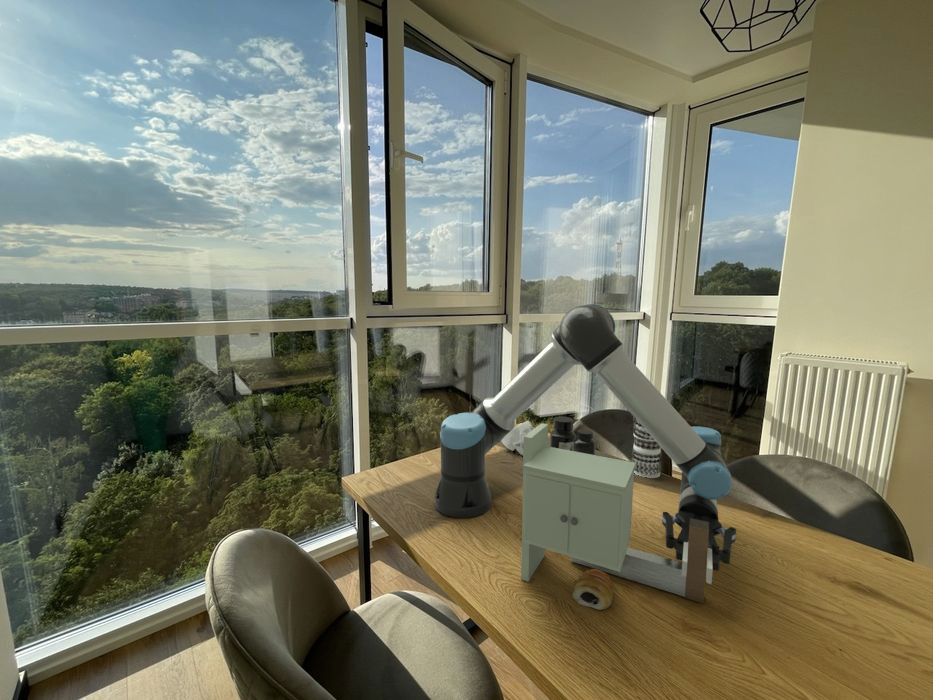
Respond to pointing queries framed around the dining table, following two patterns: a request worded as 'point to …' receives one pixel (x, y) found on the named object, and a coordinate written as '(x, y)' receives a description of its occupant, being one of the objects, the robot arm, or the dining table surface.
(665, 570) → the l-shaped try square
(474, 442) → the robot arm
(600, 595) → the pastry
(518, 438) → the skull bowl
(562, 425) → the ink bottle
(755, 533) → the dining table surface
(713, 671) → the dining table surface
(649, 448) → the decorative candle
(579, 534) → the green cabinet
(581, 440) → the supplement bottle
